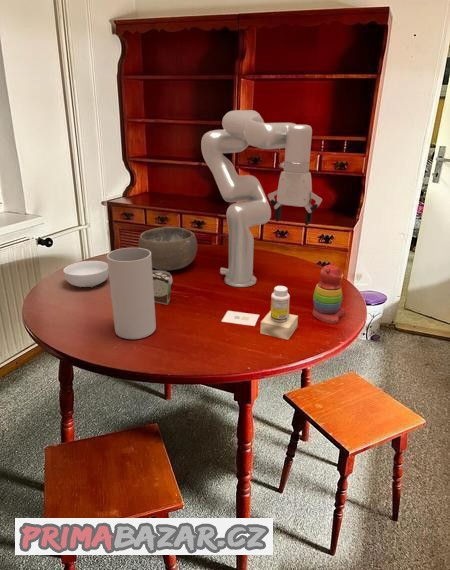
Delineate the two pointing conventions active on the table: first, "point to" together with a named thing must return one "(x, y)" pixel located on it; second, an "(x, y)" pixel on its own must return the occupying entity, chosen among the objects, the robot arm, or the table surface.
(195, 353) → the table surface
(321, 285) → the stacking bear
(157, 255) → the bowl
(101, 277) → the cereal bowl
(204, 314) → the table surface
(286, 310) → the supplement bottle
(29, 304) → the table surface
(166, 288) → the food container
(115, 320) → the cylinder vase
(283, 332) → the pedestal
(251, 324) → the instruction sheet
